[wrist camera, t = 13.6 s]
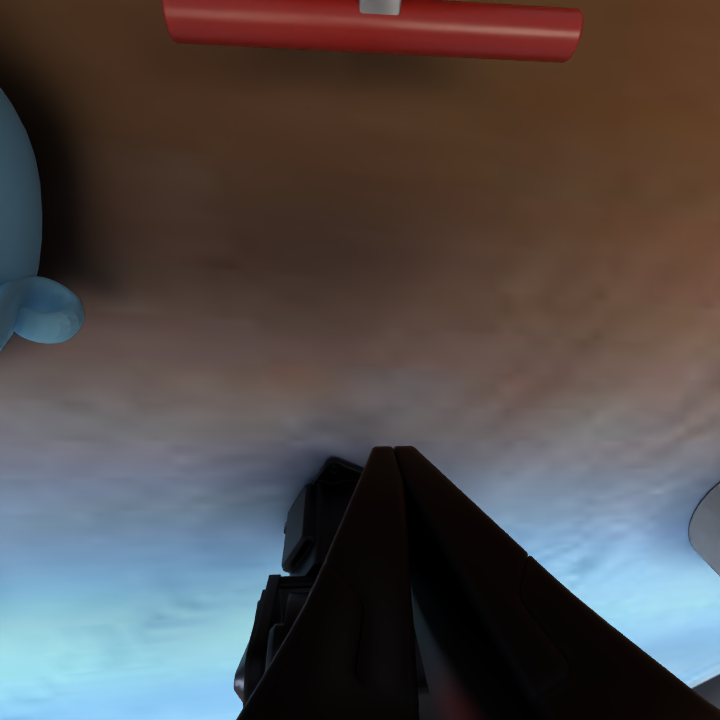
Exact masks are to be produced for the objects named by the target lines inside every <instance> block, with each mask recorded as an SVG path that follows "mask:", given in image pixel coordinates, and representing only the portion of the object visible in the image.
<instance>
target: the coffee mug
mask: <svg viewBox="0 0 720 720" xmlns="http://www.w3.org/2000/svg"><path fill="white" fill-rule="evenodd" d="M689 539H690V542H691V544H692V546H693V548H694V550H695V551H696V552H697V553H698V554H699V555H700V556H701V557H702V558H703V559H704V560H705V561H706V562H707V563H708V565H709V566H710V567H711V568H712V569H713V570H714V571H715V572H716V573H717V574H718V575H719V576H720V483H719V484H718V485H717V486H716V487H714V488H713V489H712V490H711V491H710V492H709V493H708V494H707V496H706V497H705V498H704V499H703V500H702V501H701V503H700V504H699V506H698V507H697V509H696V511H695V513H694V515H693V517H692V520H691V523H690V526H689Z"/></svg>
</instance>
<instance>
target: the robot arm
mask: <svg viewBox="0 0 720 720" xmlns="http://www.w3.org/2000/svg"><path fill="white" fill-rule="evenodd" d="M332 465H335V466H337V467H335V468H331V467H330V466H332ZM284 534H285V542H284V550H283V558H282V568H283V571H285V572H288V573H290V576H283V577H281V575H269V578H268V582H267V586H266V590H263V591H262V595H261V599H260V600H259V601H258V603H257V609H256V615H255V621H254V626H253V629H252V633H251V637H250V641H249V643H248V645H247V648H246V650H245V652H244V654H243V657H242V659H241V661H240V664H239V666H238V668H237V671H236V673H235V679H234V691H235V692H236V693H237V695H238V696H239V698H240V699H241V701H242V702H243V709H242V711H241V713H240V714H239V716H238V718H237V719H236V720H720V709H718V708H717V707H715V706H713V705H712V704H711V703H709V702H708V701H707V700H705V699H704V698H703V697H701V696H700V695H699V694H697V693H696V692H695V691H693V690H692V689H691V688H690V687H688V686H687V685H686V684H685V683H683V682H682V681H681V680H680V679H678V678H677V677H676V676H675V675H673V674H672V673H671V672H669V671H668V670H667V669H666V668H664V667H663V666H662V665H661V664H659V663H658V662H657V661H656V660H654V659H653V658H652V657H651V656H649V655H648V654H647V653H645V652H644V651H643V650H642V649H640V648H639V647H638V646H637V645H635V644H634V643H633V642H632V641H630V640H629V639H628V638H627V637H625V636H624V635H623V634H621V633H620V632H619V631H618V630H616V629H615V628H614V627H613V626H611V625H610V624H609V623H608V622H606V621H605V620H604V619H603V618H602V617H600V616H599V615H598V614H597V613H595V612H594V611H593V610H592V609H591V608H589V607H588V606H587V605H586V604H584V603H583V602H582V601H581V600H580V599H578V598H577V597H576V596H575V595H574V594H573V593H571V592H570V591H569V590H568V589H567V588H566V587H565V586H564V585H562V584H561V583H560V582H559V581H558V580H557V579H556V578H555V577H553V576H552V575H551V574H550V573H549V572H548V571H547V570H546V569H545V568H544V567H542V566H541V565H540V564H539V563H538V562H537V561H536V560H535V559H534V558H533V557H532V556H528V553H527V552H526V551H525V550H524V549H523V548H522V547H521V546H520V545H519V544H518V543H516V542H515V541H514V540H513V539H512V538H511V537H510V536H509V535H508V534H507V533H506V532H505V531H504V530H502V529H501V528H500V527H499V526H498V525H497V524H496V523H495V522H494V521H493V520H492V519H491V518H490V517H489V516H487V515H486V514H485V513H484V512H483V511H482V510H481V509H480V508H479V507H478V506H477V505H476V504H475V503H474V502H472V501H471V500H470V499H469V498H468V497H467V496H466V495H465V494H464V493H463V492H462V491H461V490H460V489H458V488H457V487H456V486H455V485H454V484H453V483H452V482H451V481H450V480H449V479H448V478H447V477H446V476H445V475H443V474H442V473H441V472H440V471H439V470H438V469H437V468H436V467H435V466H434V465H433V464H432V463H431V462H430V461H428V460H427V459H426V458H425V457H424V456H423V455H422V454H421V453H420V452H419V451H418V450H417V449H416V448H414V447H413V446H396V447H394V449H393V448H392V447H390V446H376V447H374V448H373V449H372V451H371V453H370V456H369V458H368V460H367V463H366V465H365V467H364V469H362V468H360V467H357V466H355V465H352V464H350V463H348V462H345V461H343V460H340V459H338V458H330V459H328V460H327V461H326V462H325V464H324V465H323V467H322V468H321V470H320V471H319V473H318V474H317V476H316V477H315V479H314V480H313V482H312V483H308V484H306V485H305V487H304V488H303V490H302V491H301V493H300V495H299V496H298V498H297V499H296V501H295V502H294V504H293V505H292V507H291V509H290V510H289V512H288V518H287V522H286V524H285V527H284Z"/></svg>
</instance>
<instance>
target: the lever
mask: <svg viewBox="0 0 720 720" xmlns="http://www.w3.org/2000/svg"><path fill="white" fill-rule="evenodd" d="M162 8H163V14H164V19H165V22H166V26H167V29H168V31H169V34H170V36H171V38H172V40H173V41H174V42H176V43H185V44H204V45H224V46H244V47H264V48H283V49H303V50H323V51H343V52H362V53H382V54H402V55H422V56H441V57H461V58H481V59H501V60H520V61H540V62H560V63H563V62H566V61H567V60H569V59H570V57H571V56H572V55H573V53H574V51H575V50H576V47H577V45H578V43H579V40H580V37H581V33H582V28H583V14H582V12H581V10H579V9H576V8H560V7H543V6H526V5H510V4H493V3H476V2H459V1H443V0H162Z"/></svg>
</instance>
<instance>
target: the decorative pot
mask: <svg viewBox="0 0 720 720" xmlns="http://www.w3.org/2000/svg"><path fill="white" fill-rule="evenodd" d="M41 243H42V203H41V187H40V179H39V174H38V168H37V163H36V158H35V154H34V151H33V148H32V146H31V143H30V140H29V137H28V134H27V132H26V129H25V127H24V126H23V124H22V122H21V120H20V118H19V116H18V114H17V113H16V111H15V109H14V107H13V105H12V103H11V102H10V100H9V99H8V97H7V96H6V95H5V93H4V92H3V90H2V89H1V88H0V352H1V350H2V348H3V347H4V346H5V344H6V343H7V341H8V340H9V339H10V337H11V336H12V335H13V333H14V332H15V333H17V334H18V335H19V336H21V337H23V338H25V339H28V340H31V341H34V342H39V343H48V344H52V343H60V342H64V341H66V340H68V339H70V338H72V337H73V336H74V335H75V334H76V333H77V332H78V331H79V329H80V328H81V326H82V324H83V322H84V317H85V313H84V308H83V305H82V302H81V301H80V299H79V298H78V297H77V296H76V295H75V294H74V293H73V292H72V291H71V290H69V289H68V288H67V287H65V286H63V285H62V284H60V283H58V282H56V281H54V280H51V279H48V278H45V277H40V276H37V273H38V269H39V262H40V252H41Z"/></svg>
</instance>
